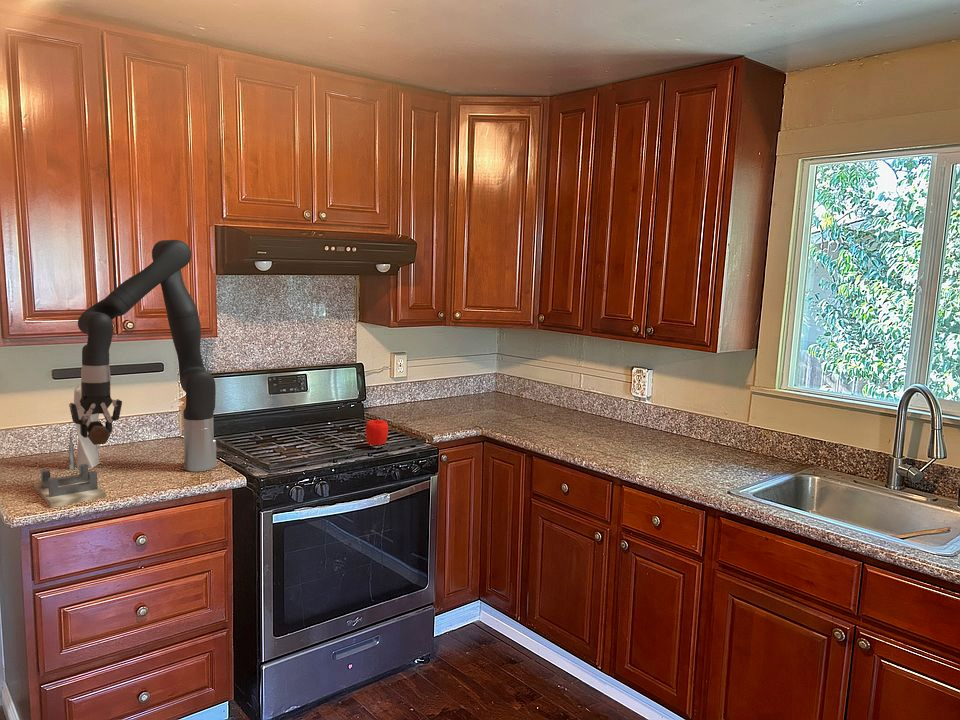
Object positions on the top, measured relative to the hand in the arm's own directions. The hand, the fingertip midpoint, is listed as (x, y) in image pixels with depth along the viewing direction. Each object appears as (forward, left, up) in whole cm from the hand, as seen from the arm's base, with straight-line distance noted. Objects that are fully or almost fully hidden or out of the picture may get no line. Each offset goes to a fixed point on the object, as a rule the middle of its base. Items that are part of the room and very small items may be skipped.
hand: (96, 435), depth 208 cm
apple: (-94, +9, -16) cm, 96 cm away
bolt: (0, 0, -1) cm, 1 cm away
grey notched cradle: (+8, 0, -15) cm, 16 cm away
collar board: (+8, 0, -16) cm, 18 cm away
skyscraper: (-3, -25, -17) cm, 30 cm away
